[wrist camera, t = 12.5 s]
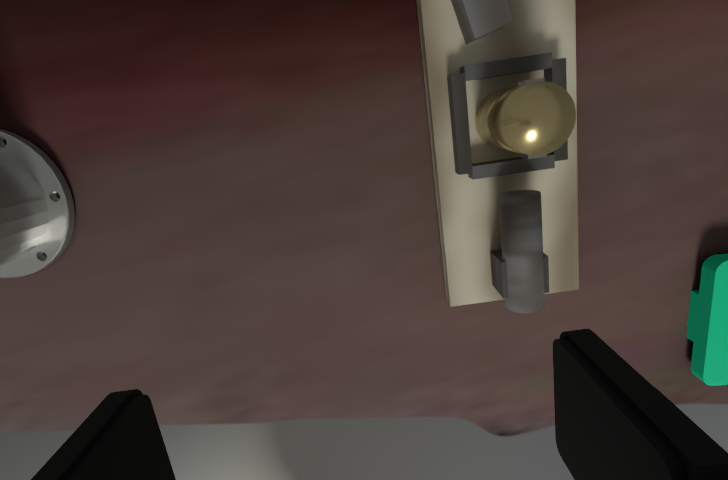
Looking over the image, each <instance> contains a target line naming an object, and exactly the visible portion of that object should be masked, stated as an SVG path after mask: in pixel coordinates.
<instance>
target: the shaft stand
mask: <svg viewBox="0 0 728 480" xmlns="http://www.w3.org/2000/svg"><path fill="white" fill-rule="evenodd" d="M417 10H418V20H419V30H420V40H421V51H422V61H423V71H424V81H425V91H426V101H427V111H428V121H429V131H430V141H431V151H432V161H433V171H434V181H435V191H436V201H437V211H438V221H439V231H440V241H441V251H442V261H443V271H444V281H445V291H446V298H447V300H448V302H449V305H450V307H451V306H459V305H466V304H474V303H481V302H489V301H496V300H504V299H505V306H506V308H507V309H509V310H511V311H514V312H519V313H532V312H537V311H540V310H542V309H543V308H544V307H545V294H548V293H556V292H563V291H571V290H578V289H579V265H578V185H577V105H576V25H575V0H417ZM539 78H545V81H546V82H552V83H555V84H558V85H560V86H561V87H563V88H564V89H565V90H566V91H567V92H568V93H569V94H570V96H571V97H572V99H573V101H574V104H575V109H576V121H575V125H574V128H573V131H572V133H571V135H570V136H569V138H568V139H567V141H566V142H565V143H564V144H563V145H562V146H561V147H560V148H558V149H557V150H555V151H553V152H551V153H549V154H547V157H540V158H533V159H525V158H522V156H521V153H517V152H513V151H508V150H503V149H499V148H494V147H491V146H489V145H487V144H486V143H485V142H484V141H483V140H482V139H481V138H480V136H479V135H478V132H477V130H476V125H475V118H476V113H477V110H478V107H479V106H480V104H481V102H482V101H483V100H484V99H485V98H486V97H487V96H488V95H490V94H491V93H493V92H495V91H498V90H502V89H507V88H511V87H516V86H518V82H521V81H526V80H532V79H539Z"/></svg>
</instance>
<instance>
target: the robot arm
mask: <svg viewBox="0 0 728 480" xmlns="http://www.w3.org/2000/svg"><path fill="white" fill-rule="evenodd" d="M74 222H75V212H74V203H73V199H72V195H71V192H70V189H69V187H68V185H67V182H66V180H65V178H64V176H63V175H62V173H61V172H60V170H59V169H58V167H57V166H56V165H55V163H54V162H53V161H52V160H51V159H50V158H49V157H48V156H47V155H46V154H45V153H44V152H43V151H42V150H41V149H39V148H38V147H37V146H35V145H34V144H33V143H31V142H30V141H28V140H26V139H25V138H23V137H21V136H19V135H17V134H15V133H12V132H9V131H6V130H3V129H0V277H1V278H11V277H20V276H25V275H29V274H32V273H34V272H36V271H39V270H41V269H43V268H45V267H46V266H48V265H50V264H51V263H53V262H54V261H55V260H56V259H57V258H58V257H59V256H60V255H61V254H62V253H63V252H64V250H65V249H66V247H67V245H68V244H69V242H70V239H71V236H72V233H73V230H74ZM553 368H554V399H555V429H556V443H557V448H558V451H559V453H560V456H561V457H562V459H563V461H564V463H565V464H566V466H567V468H568V469H569V471H570V473H571V474H572V476H573V477H574V479H575V480H728V453H727V452H726V451H725V450H724V449H723V448H722V447H720V446H719V445H718V444H717V443H716V442H715V441H714V440H712V438H710V437H709V436H708V435H707V434H706V433H705V432H704V431H703V430H702V429H700V428H699V427H698V426H697V425H696V424H695V423H694V422H693V421H692V420H691V419H689V418H688V417H687V416H686V415H685V414H684V413H683V412H682V411H681V410H679V409H678V408H677V407H676V406H675V405H674V404H673V403H672V402H671V401H670V400H668V399H667V398H666V397H665V396H664V395H663V394H662V393H661V392H660V391H659V390H657V389H656V388H655V387H653V386H652V385H651V384H650V383H649V382H648V381H647V380H645V379H644V378H643V377H642V376H641V375H640V374H639V373H638V372H637V371H636V370H634V369H633V368H632V367H631V366H630V365H629V364H628V363H627V362H626V361H625V360H623V359H622V358H621V357H620V356H619V355H618V354H617V353H616V352H615V351H614V350H612V349H611V348H610V347H609V346H608V345H607V344H606V343H605V342H604V341H602V340H601V339H600V338H599V337H598V336H597V335H596V334H595V333H594V332H593V331H591V330H590V329H581V330H574V331H567V332H562V333H561V335H560V339H556V340H554V342H553ZM31 480H176V479H175V476H174V473H173V470H172V467H171V463H170V460H169V457H168V454H167V451H166V447H165V444H164V441H163V438H162V435H161V432H160V429H159V425H158V422H157V419H156V416H155V413H154V410H153V406H152V403H151V400H150V398H149V397H148V396H147V395H143V394H142V392H141V391H140V390H137V389H135V390H127V391H120V392H113V393H110V394H109V395H108V396H107V397H106V398H105V399H104V400H103V401H102V402H101V403H100V404H99V405H98V407H97V408H96V409H95V410H94V411H93V412H92V413H91V414H90V415H89V416H88V418H87V419H86V420H85V421H84V422H83V423H82V424H81V425H80V426H79V427H78V429H77V430H76V431H75V432H74V433H73V434H72V435H71V436H70V437H69V438H68V440H67V441H66V442H65V443H64V444H63V445H62V446H61V447H60V448H59V449H58V451H57V452H56V453H55V454H54V455H53V456H52V457H51V458H50V459H49V461H47V463H46V464H45V465H44V466H43V467H42V468H41V469H40V470H39V471H38V472H37V474H36V475H35V476H34V477H33V478H32V479H31Z"/></svg>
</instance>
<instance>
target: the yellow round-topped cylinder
mask: <svg viewBox="0 0 728 480" xmlns="http://www.w3.org/2000/svg"><path fill="white" fill-rule="evenodd" d="M575 121H576V109H575V104H574V101H573V99H572V97H571V96H570V94H569V93H568V92H567V91H566V90H565V89H564V88H563V87H561V86H560V85H558V84H555V83H552V82H546V81H545V78H539V79H532V80H526V81H521V82H518V86H516V87H511V88H507V89H502V90H498V91H495V92H493V93H491V94H490V95H488V96H487V97H486V98H485V99H484V100H483V101H482V102H481V104H480V106H479V107H478V110H477V113H476V118H475V125H476V130H477V132H478V135H479V136H480V138H481V139H482V140H483V141H484V142H485V143H486V144H487V145H489V146H491V147H494V148H499V149H503V150H508V151H513V152H517V153H521V156H522V158H525V159H533V158H540V157H547V154H549V153H551V152H553V151H555V150H557V149H558V148H560V147H561V146H562V145H563V144H564V143H565V142H566V141H567V139H568V138H569V136H570V135H571V133H572V131H573V128H574V125H575Z"/></svg>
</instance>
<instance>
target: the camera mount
mask: <svg viewBox="0 0 728 480" xmlns="http://www.w3.org/2000/svg"><path fill="white" fill-rule="evenodd" d="M687 338H688V339H690V340H691V341H693V342H694V343H693V352H692V361H691V371H692V373H693V374H694V375H695V376H697V377H698V378H699V379H701V380H702V381H703V382H704V383H706V384H707V385H710V386H718V385H728V254H717V255H712V256H710V257H708V258H707V259H706V260H705V261H704V263H703V265H702V270H701V279H700V288H699V290H694V291H691V299H690V308H689V318H688V328H687Z"/></svg>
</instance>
